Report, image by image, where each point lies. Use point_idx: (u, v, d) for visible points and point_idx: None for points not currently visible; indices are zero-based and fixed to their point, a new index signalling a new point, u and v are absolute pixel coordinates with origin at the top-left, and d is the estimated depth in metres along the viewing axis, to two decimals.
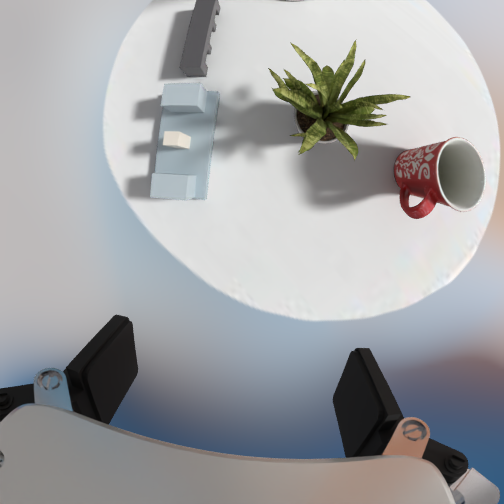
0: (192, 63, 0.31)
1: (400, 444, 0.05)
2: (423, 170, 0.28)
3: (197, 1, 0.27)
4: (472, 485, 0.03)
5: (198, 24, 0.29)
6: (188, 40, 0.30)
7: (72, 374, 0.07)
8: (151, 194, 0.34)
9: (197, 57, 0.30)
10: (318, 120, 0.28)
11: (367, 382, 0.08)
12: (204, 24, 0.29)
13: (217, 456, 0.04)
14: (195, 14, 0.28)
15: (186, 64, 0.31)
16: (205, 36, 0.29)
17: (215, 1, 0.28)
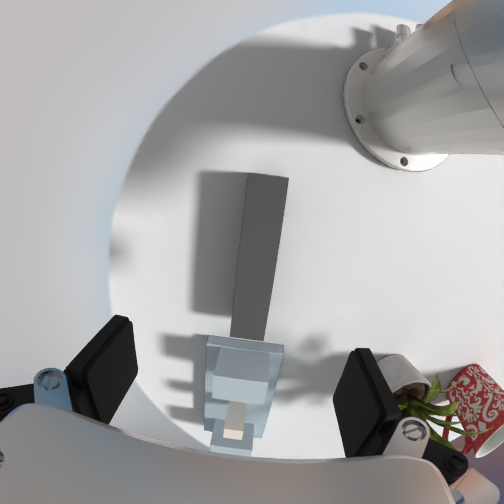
0: (250, 332, 0.24)
1: (400, 444, 0.05)
2: (472, 430, 0.20)
3: (249, 187, 0.20)
4: (472, 485, 0.03)
5: (255, 254, 0.21)
6: (239, 289, 0.22)
7: (72, 374, 0.07)
8: None
9: (257, 324, 0.23)
10: None
11: (367, 382, 0.08)
12: (267, 257, 0.21)
13: (217, 456, 0.04)
14: (248, 226, 0.21)
15: (240, 333, 0.24)
16: (270, 285, 0.22)
17: None
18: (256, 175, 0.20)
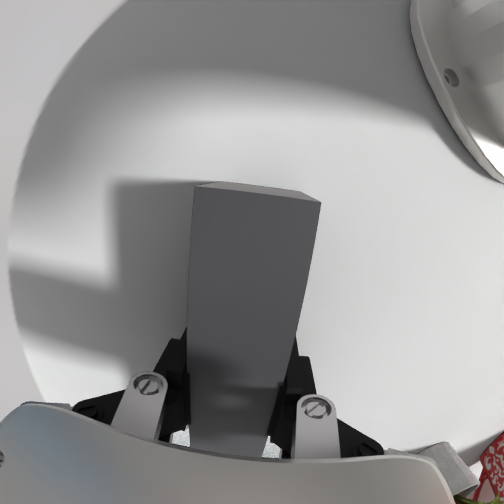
0: None
1: (309, 426, 0.06)
2: None
3: (199, 232, 0.07)
4: None
5: (226, 390, 0.08)
6: (199, 437, 0.09)
7: (171, 375, 0.08)
8: None
9: None
10: None
11: None
12: (256, 397, 0.08)
13: (217, 456, 0.04)
14: (203, 336, 0.07)
15: None
16: (262, 436, 0.09)
17: None
18: (220, 194, 0.06)
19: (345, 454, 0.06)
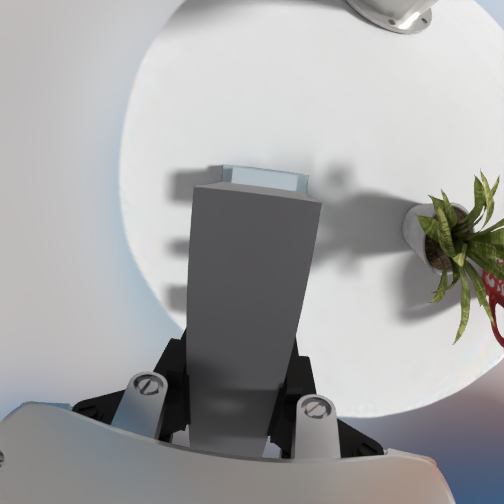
0: None
1: (309, 426, 0.06)
2: None
3: (198, 233, 0.07)
4: None
5: (226, 392, 0.08)
6: (198, 438, 0.09)
7: (171, 375, 0.08)
8: None
9: None
10: None
11: None
12: (256, 398, 0.08)
13: (217, 456, 0.04)
14: (202, 337, 0.07)
15: None
16: (262, 438, 0.09)
17: None
18: (219, 194, 0.06)
19: (345, 454, 0.06)
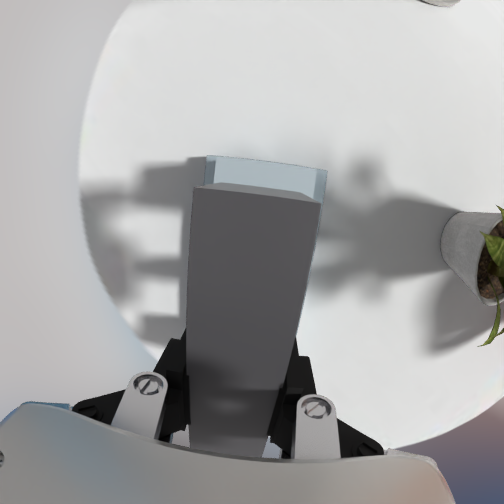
0: None
1: (309, 426, 0.06)
2: None
3: (198, 233, 0.07)
4: None
5: (226, 392, 0.08)
6: (198, 438, 0.09)
7: (172, 375, 0.08)
8: None
9: None
10: None
11: None
12: (256, 398, 0.08)
13: (217, 456, 0.04)
14: (202, 338, 0.07)
15: None
16: (262, 438, 0.09)
17: None
18: (219, 195, 0.06)
19: (345, 454, 0.06)
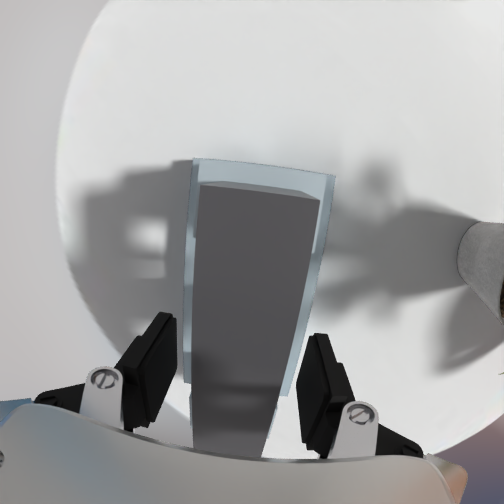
0: None
1: (350, 430, 0.06)
2: None
3: (204, 228, 0.07)
4: None
5: (229, 383, 0.08)
6: (202, 431, 0.09)
7: (128, 371, 0.07)
8: None
9: None
10: None
11: (318, 364, 0.09)
12: (258, 389, 0.08)
13: (217, 456, 0.04)
14: (207, 329, 0.08)
15: None
16: (264, 429, 0.09)
17: None
18: (224, 192, 0.07)
19: None
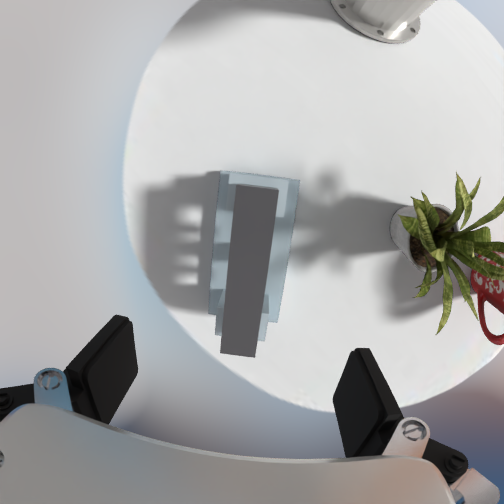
0: (240, 349, 0.23)
1: (400, 444, 0.05)
2: None
3: (237, 200, 0.19)
4: (472, 485, 0.03)
5: (244, 269, 0.21)
6: (228, 305, 0.21)
7: (72, 374, 0.07)
8: (216, 332, 0.27)
9: (248, 341, 0.22)
10: None
11: (367, 382, 0.08)
12: (257, 272, 0.21)
13: (217, 456, 0.04)
14: (236, 241, 0.20)
15: (230, 350, 0.23)
16: (260, 302, 0.21)
17: None
18: (245, 187, 0.19)
19: (440, 468, 0.04)
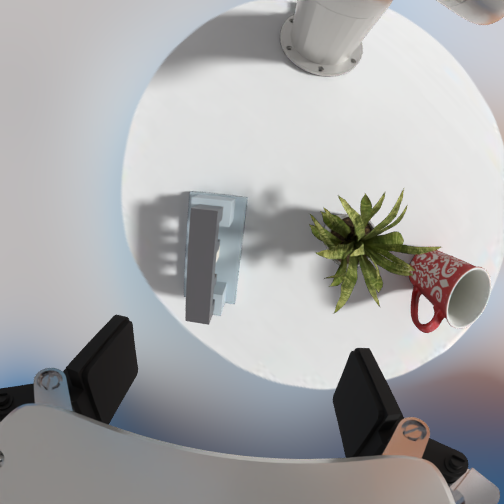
0: (199, 318, 0.33)
1: (400, 444, 0.05)
2: (436, 292, 0.31)
3: (192, 218, 0.30)
4: (472, 485, 0.03)
5: (198, 262, 0.31)
6: (189, 286, 0.32)
7: (72, 374, 0.07)
8: None
9: (203, 312, 0.33)
10: (350, 257, 0.31)
11: (367, 382, 0.08)
12: (206, 264, 0.31)
13: (217, 456, 0.04)
14: (192, 244, 0.30)
15: (192, 318, 0.33)
16: (209, 284, 0.32)
17: (217, 220, 0.30)
18: (196, 209, 0.29)
19: (440, 468, 0.04)
